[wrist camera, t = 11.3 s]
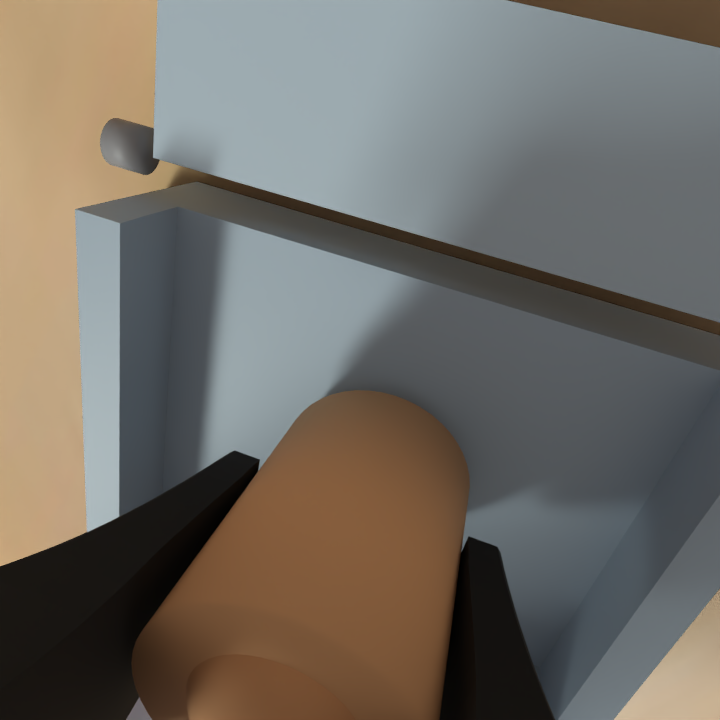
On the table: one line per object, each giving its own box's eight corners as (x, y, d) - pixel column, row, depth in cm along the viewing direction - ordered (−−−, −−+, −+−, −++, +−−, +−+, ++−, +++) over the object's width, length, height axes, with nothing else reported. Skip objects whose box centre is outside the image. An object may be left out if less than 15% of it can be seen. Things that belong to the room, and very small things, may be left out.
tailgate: (788, 342, 10) (952, 99, 8) (153, 157, 11) (160, -77, 9) (765, 322, 10) (907, 100, 9) (180, 153, 12) (191, -61, 10)
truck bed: (593, 646, 17) (621, 850, 13) (144, 473, 20) (23, 591, 15) (835, 297, 12) (1057, 432, 7) (156, 109, 14) (-38, 110, 9)
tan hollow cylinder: (439, 573, 14) (378, 929, 8) (273, 512, 14) (98, 797, 8) (496, 428, 12) (472, 765, 6) (298, 364, 12) (88, 605, 6)
